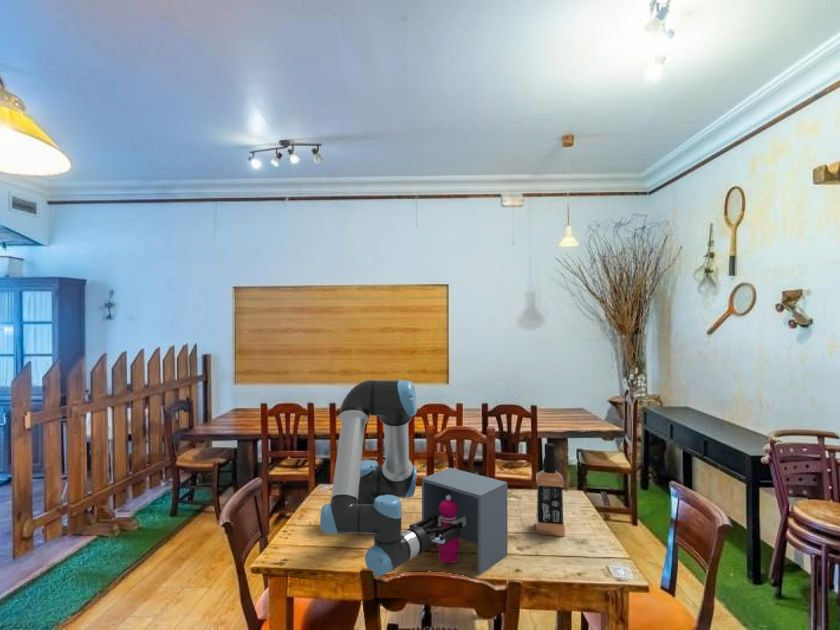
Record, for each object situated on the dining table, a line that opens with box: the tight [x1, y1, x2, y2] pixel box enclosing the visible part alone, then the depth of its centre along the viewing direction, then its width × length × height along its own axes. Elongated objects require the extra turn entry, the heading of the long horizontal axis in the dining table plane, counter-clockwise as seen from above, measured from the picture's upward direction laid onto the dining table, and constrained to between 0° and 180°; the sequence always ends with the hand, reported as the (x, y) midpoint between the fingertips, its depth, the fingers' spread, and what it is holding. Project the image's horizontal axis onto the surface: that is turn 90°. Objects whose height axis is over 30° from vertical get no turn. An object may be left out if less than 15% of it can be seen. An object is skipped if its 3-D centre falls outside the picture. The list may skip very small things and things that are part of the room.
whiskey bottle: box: [535, 442, 566, 537], centre depth 171 cm, size 10×10×32 cm
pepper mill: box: [436, 495, 461, 564], centre depth 147 cm, size 7×7×20 cm
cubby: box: [421, 467, 508, 575], centre depth 154 cm, size 24×16×24 cm, turn 49°
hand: (458, 518), depth 151 cm, fingers closed on pepper mill, 5 cm apart
